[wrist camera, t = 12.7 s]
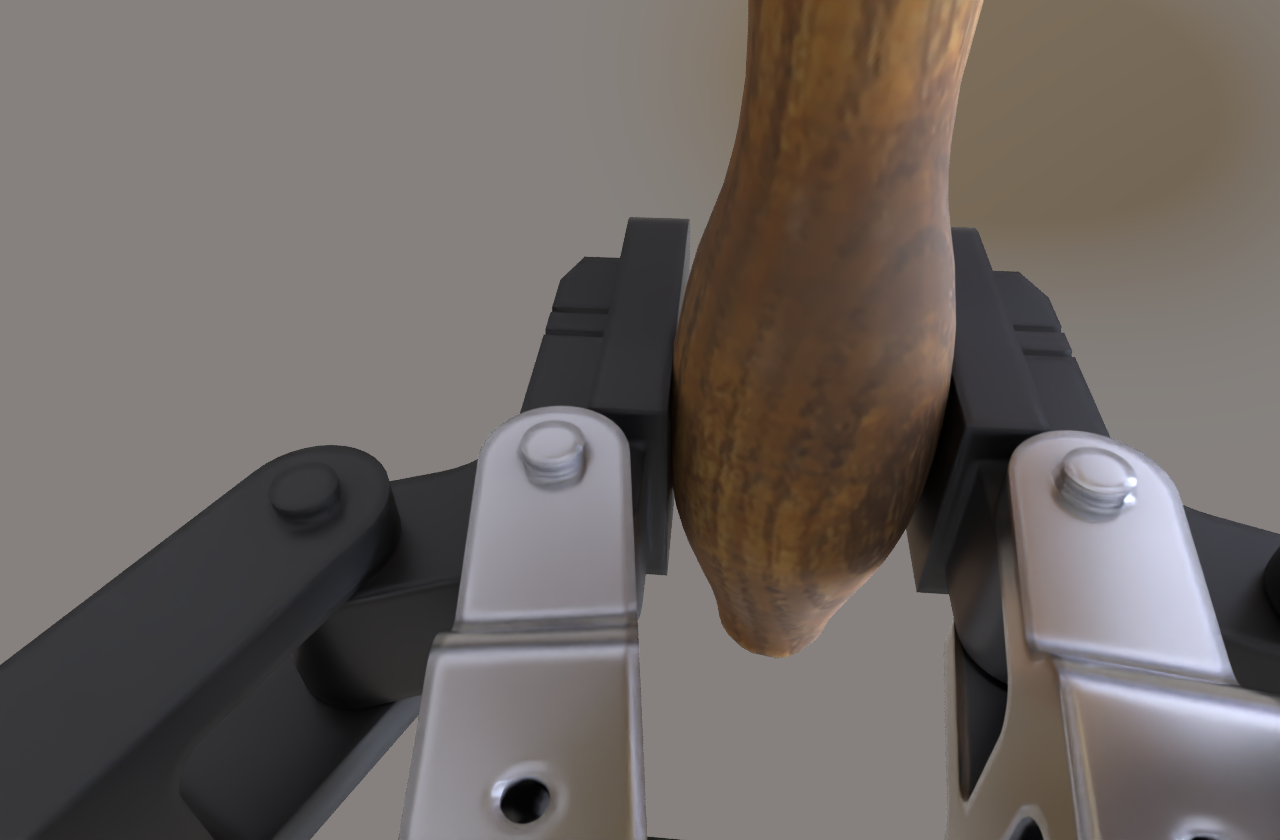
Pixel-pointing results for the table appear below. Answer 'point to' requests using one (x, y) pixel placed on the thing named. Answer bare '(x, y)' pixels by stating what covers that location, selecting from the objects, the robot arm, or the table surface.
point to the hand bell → (820, 311)
